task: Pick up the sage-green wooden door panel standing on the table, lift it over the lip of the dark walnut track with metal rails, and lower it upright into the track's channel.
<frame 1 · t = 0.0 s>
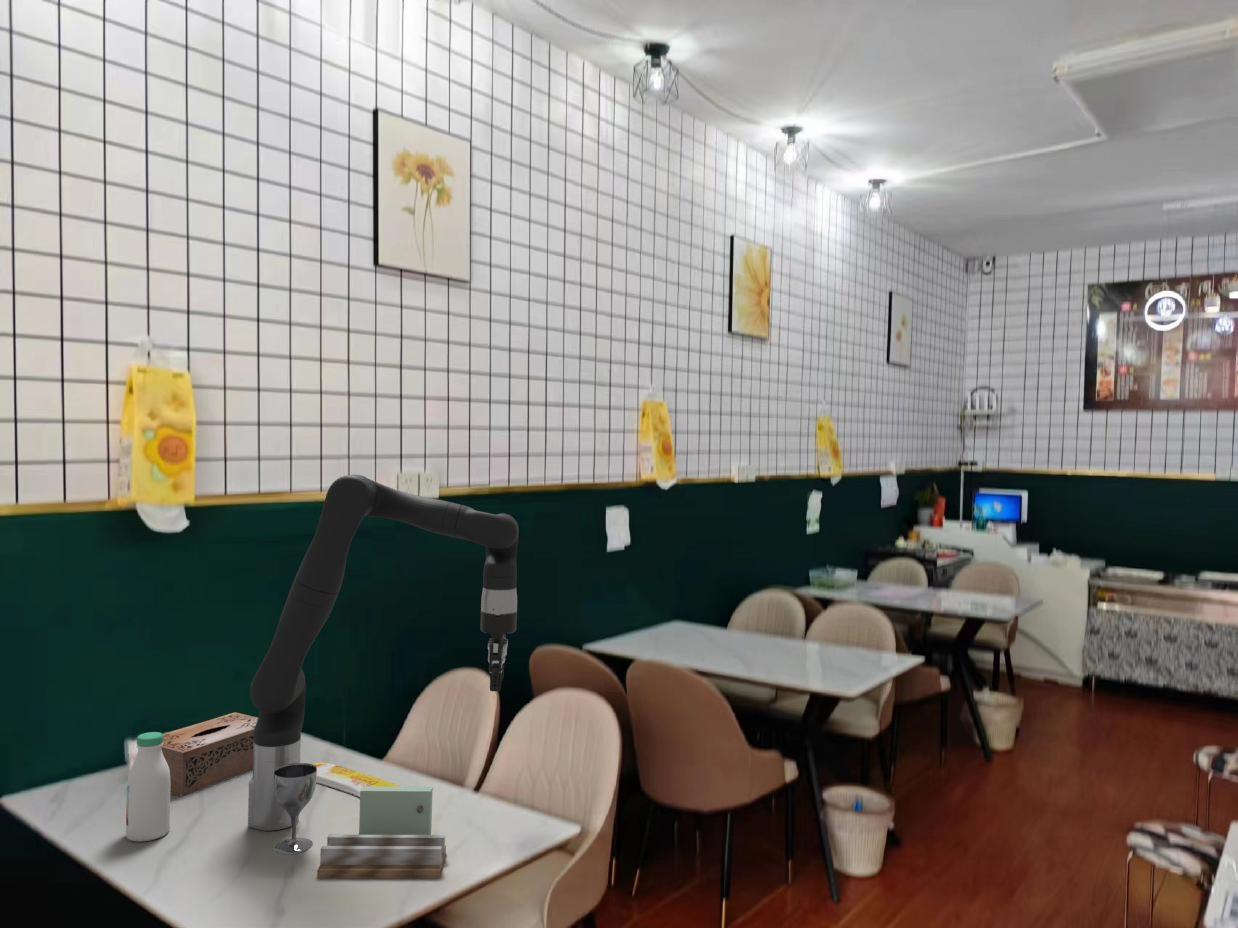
hand: (496, 685, 187), 29 cm above the table, tool pointing down, fingers open, 8 cm apart
door track: (383, 865, 167), on the table
wine glass: (293, 846, 174), on the table
milk bottle: (147, 835, 177), on the table
food package: (343, 785, 207), on the table
door panel: (395, 837, 179), on the table
tissue box cover: (209, 773, 211), on the table
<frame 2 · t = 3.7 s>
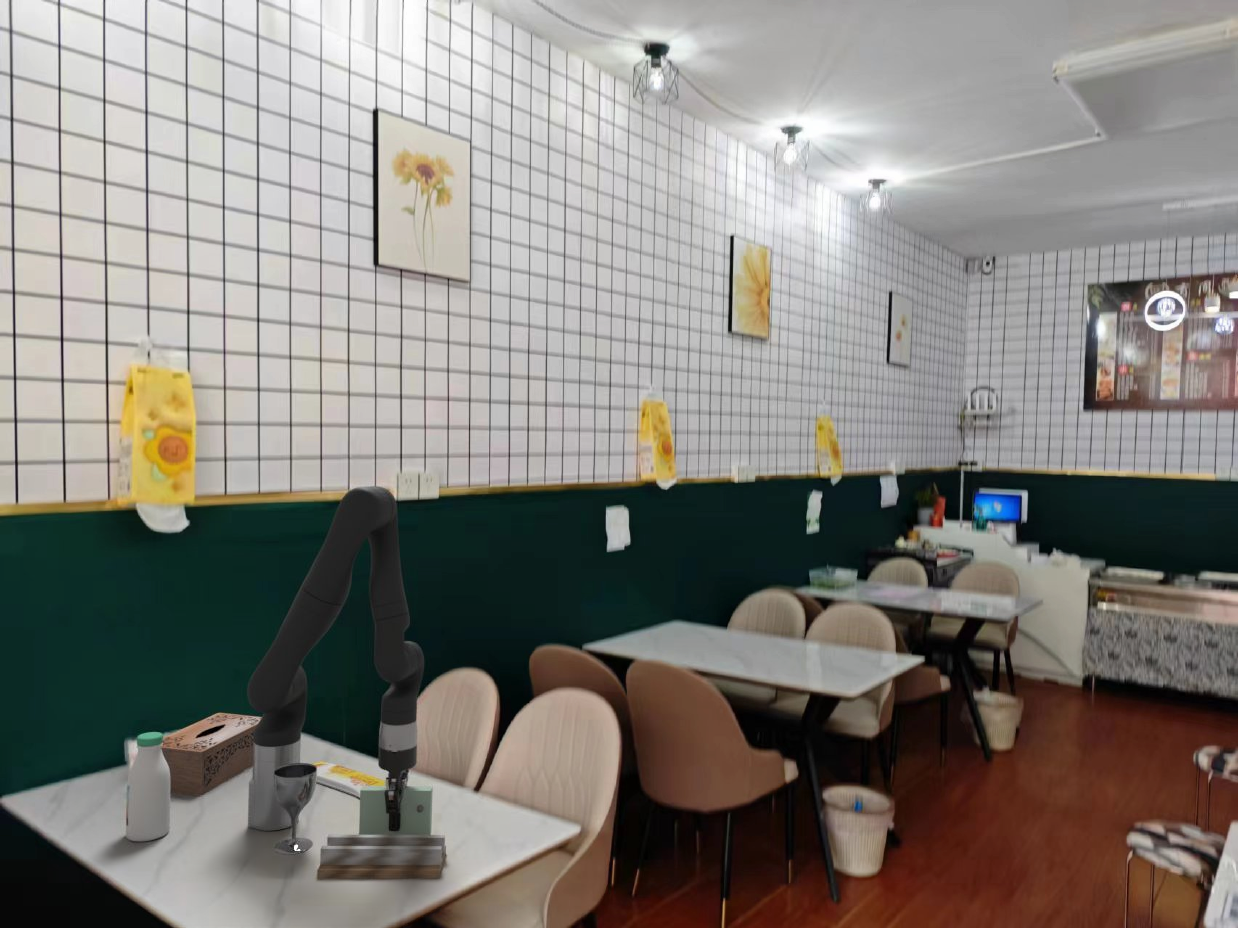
hand: (395, 826, 179), 2 cm above the table, tool pointing down, fingers closed on door panel, 2 cm apart
door panel: (395, 837, 179), on the table, touching gripper
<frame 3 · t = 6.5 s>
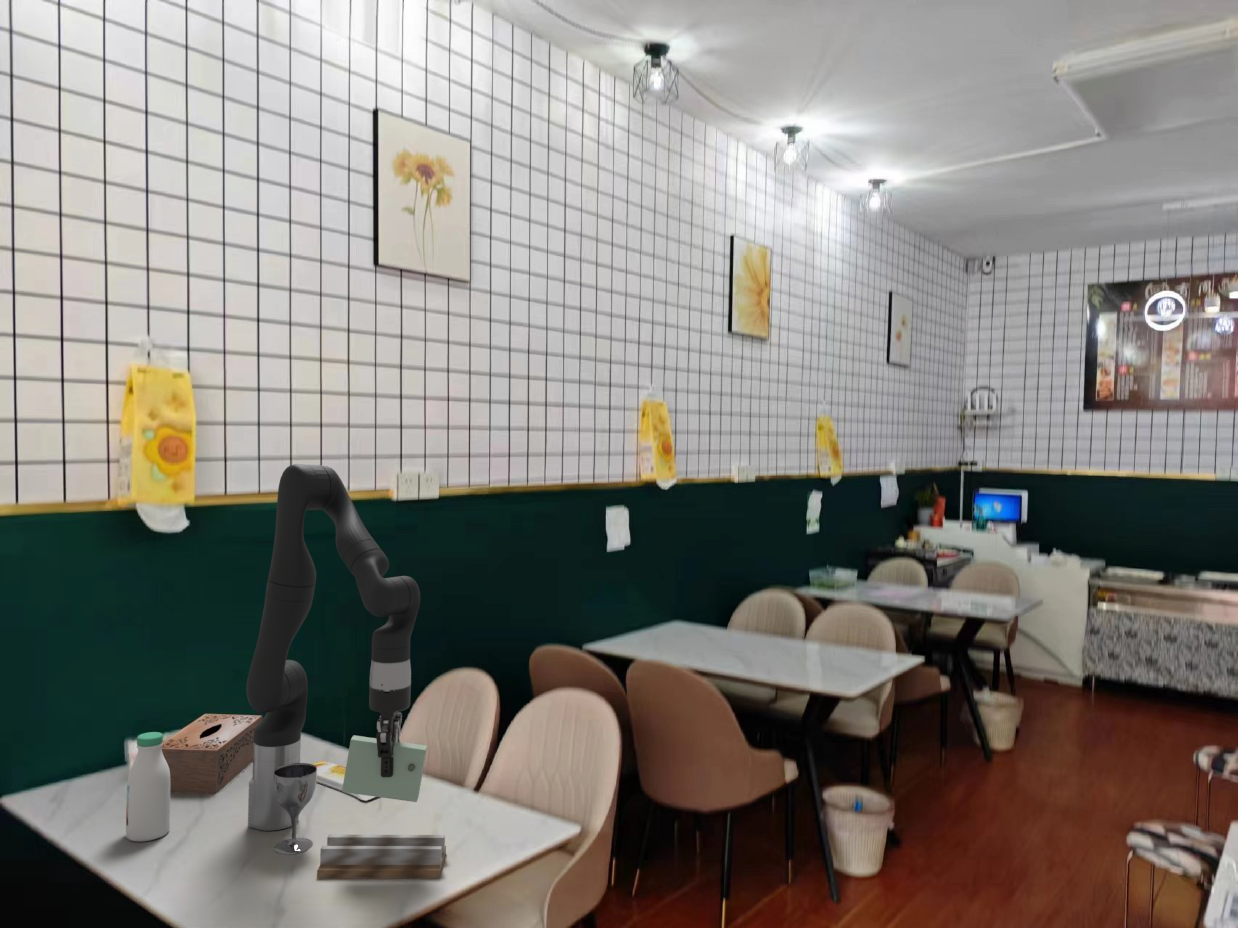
hand: (388, 773, 168), 17 cm above the table, tool pointing down, fingers closed on door panel
door panel: (380, 794, 168), point 13 cm above the table, tilted 8°, touching gripper
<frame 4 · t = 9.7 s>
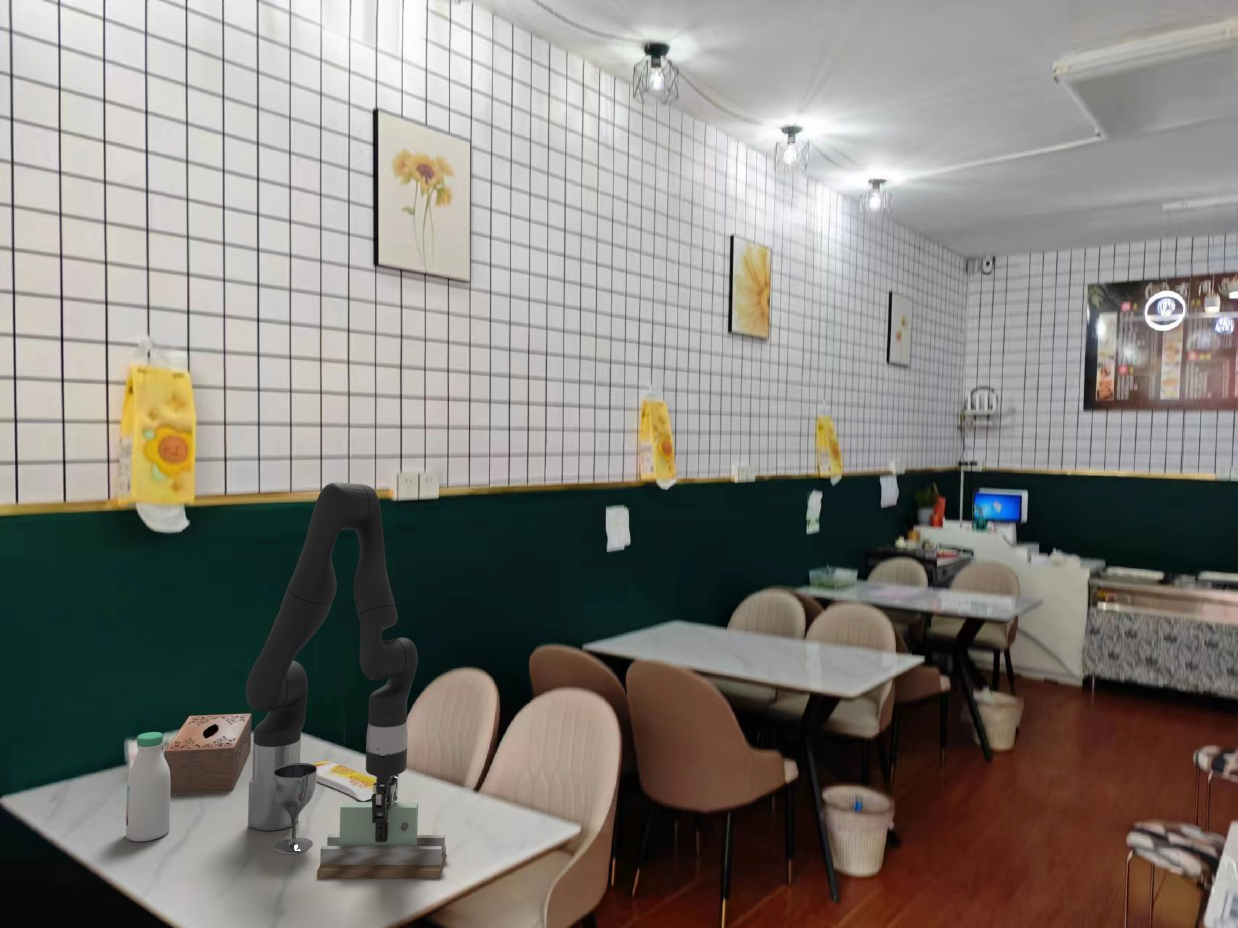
hand: (384, 834, 167), 6 cm above the table, tool pointing down, fingers open, 5 cm apart
door panel: (378, 857, 167), point 1 cm above the table, touching door track
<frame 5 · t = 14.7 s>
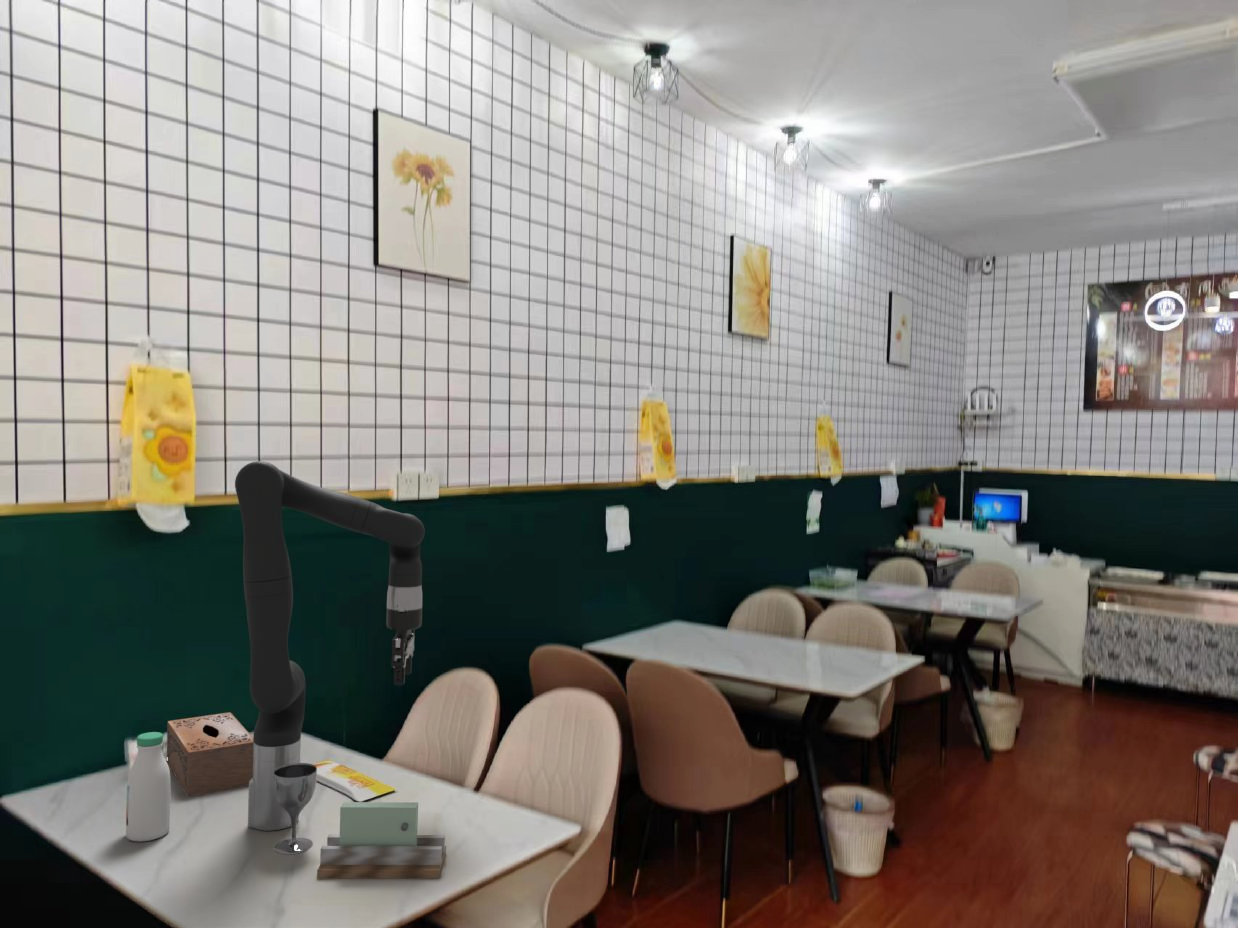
hand: (402, 679, 194), 28 cm above the table, tool pointing down, fingers open, 8 cm apart
at the end: door panel 1.0 cm off-centre on the door track, point 1.5 cm above the door track's base; door panel tilted 0°; the gripper is holding nothing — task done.
